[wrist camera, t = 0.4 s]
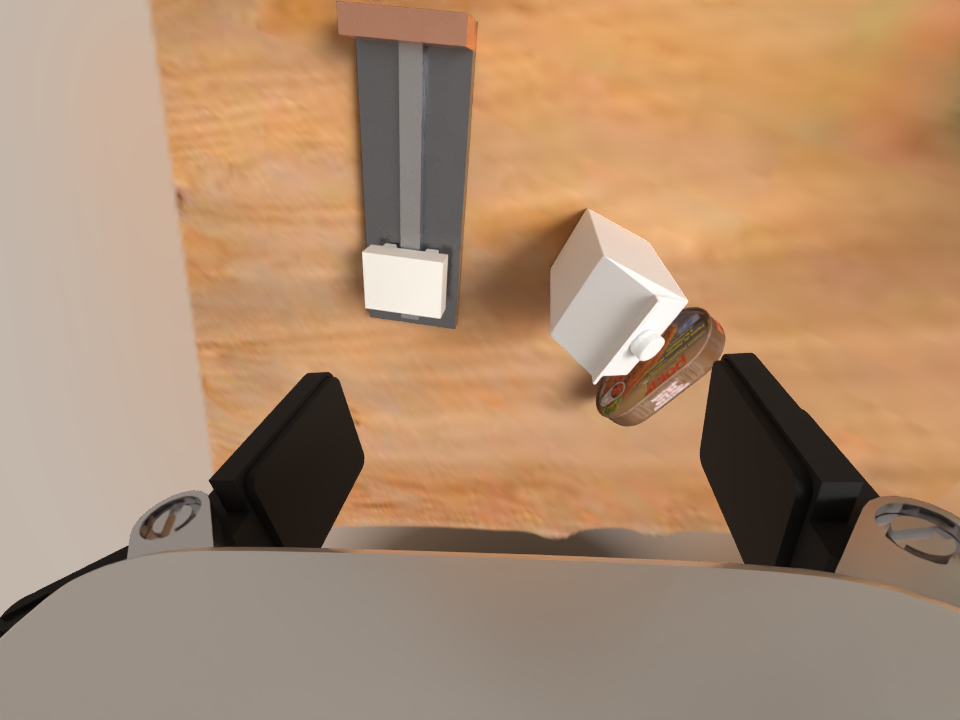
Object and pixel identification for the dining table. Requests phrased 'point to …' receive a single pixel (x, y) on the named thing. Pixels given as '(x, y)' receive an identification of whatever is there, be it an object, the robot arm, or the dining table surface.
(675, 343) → the tin
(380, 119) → the rail
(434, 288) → the slider
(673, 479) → the dining table surface
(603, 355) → the milk carton
